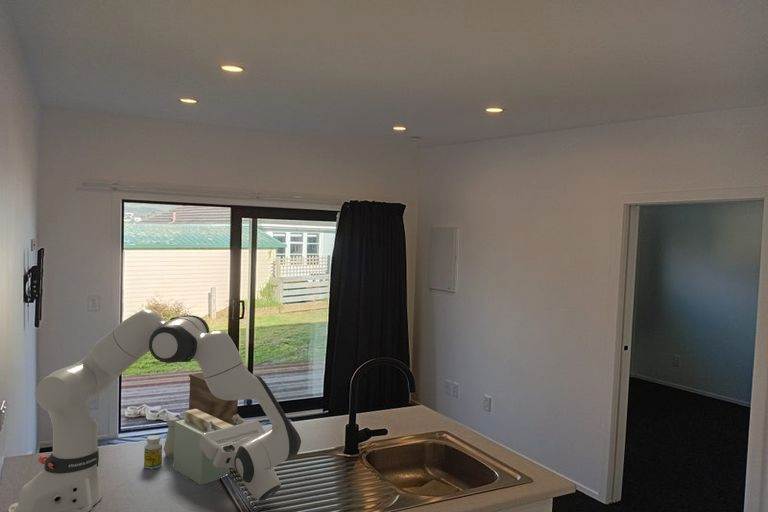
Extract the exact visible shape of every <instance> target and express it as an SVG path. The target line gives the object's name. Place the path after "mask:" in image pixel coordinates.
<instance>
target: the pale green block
mask: <svg viewBox="0 0 768 512" xmlns="http://www.w3.org/2000/svg"><path fill="white" fill-rule="evenodd" d="M204 433H207V431H206V430H204V429H202V428H200V427H198V426H196V425H194V424H191V423H189V422H187V421H185V420H184V419H180V420H179V421H175V435H174V457H173V466H172V467H173V469H174V470H176V471H177V472H178V473H180V474H182V475H183V476H185V477H187V478H188V479H190V480H192V481H194V482H195V483H197V484H198V485H199V486H202V485H205V484H209V483H211V482H214V481H218V480H220V478H221V477H223V476H225V475H226V474H229V475H230V468H216V467H214V465H213V461H214V460H211V459H209V458H208V457H207V456H206V455H205V453H204V452H203V450H202V449H201V447H200V445H199V442H200V439H201V437H202V435H203V434H204ZM221 479H222V478H221Z"/></svg>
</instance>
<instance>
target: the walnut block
mask: <svg viewBox="0 0 768 512" xmlns="http://www.w3.org/2000/svg"><path fill="white" fill-rule="evenodd" d="M188 377H189V395H188V396H189V398H188V399H189V400H188V404H189V405H188V410H192V409H198V410H200V411H202V412H204V413H207V414H209V415H211V416H213V417H215V418H218V419H220V420H222V421H224V422H227V423H229V424H231V425H233V426H235V425H238V423H237V422H236V423H235V422H234V421H233V419H232V418H233V416H234V415H237V414H238V401H239V400H222V399H219V398H217V397H215V396H214V395H213V394H212V393H211V391H210V390H209V388H208V386H207V383H206V381H205V378H204V376H203V373H202V371H200V372H195V373H189V374H188Z"/></svg>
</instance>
